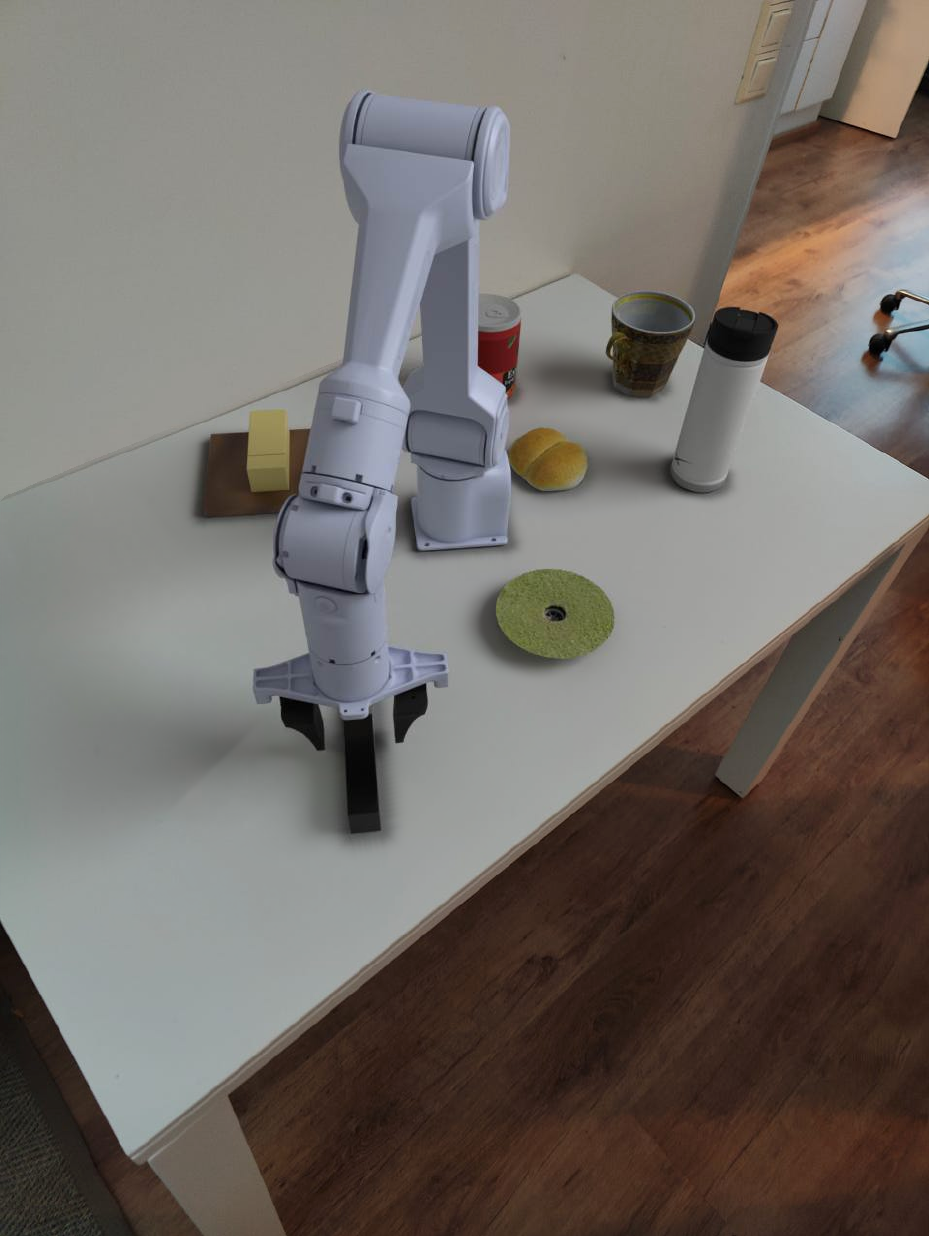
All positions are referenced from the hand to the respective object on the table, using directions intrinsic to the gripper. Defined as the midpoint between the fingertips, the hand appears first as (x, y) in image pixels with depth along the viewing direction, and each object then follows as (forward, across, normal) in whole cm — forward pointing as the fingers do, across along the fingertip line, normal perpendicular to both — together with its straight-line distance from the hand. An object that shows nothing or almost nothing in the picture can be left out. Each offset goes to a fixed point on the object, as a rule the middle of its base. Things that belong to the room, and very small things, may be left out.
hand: (359, 736), depth 69 cm
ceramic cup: (+2, +37, +50) cm, 62 cm away
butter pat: (0, -8, +33) cm, 34 cm away
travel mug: (+2, +40, +32) cm, 51 cm away
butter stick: (0, -8, +38) cm, 39 cm away
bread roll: (+2, +23, +34) cm, 41 cm away
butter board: (+1, -8, +36) cm, 37 cm away
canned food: (+2, +18, +50) cm, 54 cm away
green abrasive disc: (+2, +19, +12) cm, 22 cm away
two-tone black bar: (+1, 0, +2) cm, 2 cm away
